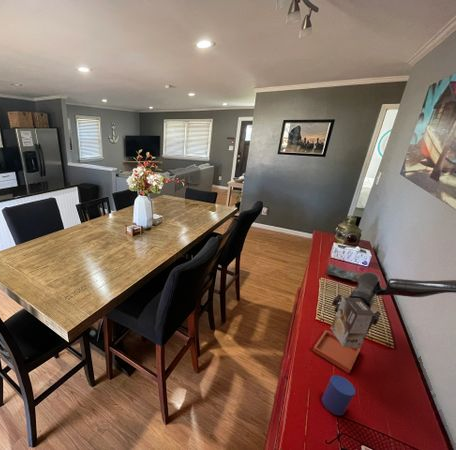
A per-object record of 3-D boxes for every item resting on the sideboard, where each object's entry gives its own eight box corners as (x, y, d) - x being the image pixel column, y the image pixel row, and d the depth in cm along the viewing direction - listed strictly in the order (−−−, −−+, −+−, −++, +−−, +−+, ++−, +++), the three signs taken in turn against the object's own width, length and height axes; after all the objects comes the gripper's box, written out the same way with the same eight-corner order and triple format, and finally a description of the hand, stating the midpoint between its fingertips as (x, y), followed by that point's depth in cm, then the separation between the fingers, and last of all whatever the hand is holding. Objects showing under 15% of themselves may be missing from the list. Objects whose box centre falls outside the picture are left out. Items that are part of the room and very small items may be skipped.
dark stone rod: (323, 276, 149) (375, 293, 134) (326, 266, 147) (380, 282, 131) (326, 269, 159) (375, 285, 143) (329, 259, 156) (380, 274, 141)
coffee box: (361, 349, 88) (378, 316, 81) (342, 347, 88) (358, 315, 82) (345, 328, 96) (360, 297, 89) (329, 327, 97) (342, 296, 90)
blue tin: (347, 406, 79) (357, 386, 75) (341, 420, 75) (352, 400, 71) (325, 391, 84) (334, 371, 80) (318, 403, 80) (327, 383, 76)
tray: (358, 352, 99) (360, 348, 98) (349, 373, 90) (350, 369, 89) (324, 333, 107) (325, 329, 107) (312, 350, 99) (313, 347, 98)
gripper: (379, 316, 96) (370, 336, 86) (338, 297, 106) (325, 314, 97) (387, 301, 93) (378, 321, 84) (343, 283, 103) (331, 299, 94)
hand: (350, 317), depth 90 cm, fingers closed on coffee box, 8 cm apart
